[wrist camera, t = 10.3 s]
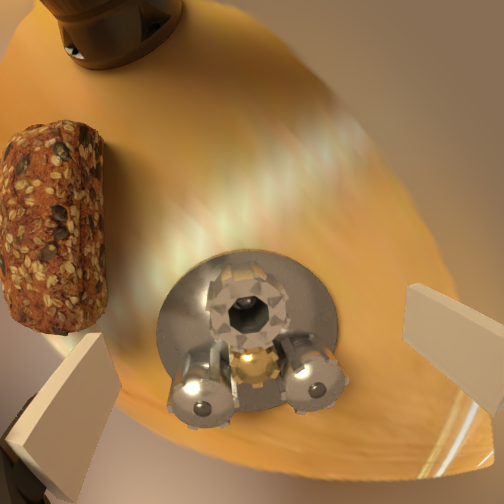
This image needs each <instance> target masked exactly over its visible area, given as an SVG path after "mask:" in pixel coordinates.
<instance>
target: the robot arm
mask: <svg viewBox="0 0 504 504" xmlns="http://www.w3.org/2000/svg"><path fill="white" fill-rule="evenodd" d="M40 1H41V2H42V3H43V5H44V6H45V7H46V8H47V9H48V10H49V11H50V12H51V13H52V14H53V15H54V16H55V18H56V19H57V20H58V25H59V29H60V34H61V38H62V42H63V46H64V49H65V51H66V52H67V54H68V55H69V56H70V57H71V58H72V59H73V60H74V61H75V62H76V63H77V64H79V65H80V66H82V67H85V68H88V69H95V70H102V69H110V68H115V67H119V66H122V65H125V64H128V63H130V62H132V61H135V60H137V59H139V58H141V57H143V56H144V55H146V54H148V53H149V52H151V51H152V50H154V49H155V48H156V47H158V46H159V45H160V44H161V43H163V42H164V41H165V40H166V39H167V38H168V37H169V36H170V34H171V33H172V32H173V31H174V29H175V28H176V26H177V25H178V23H179V21H180V18H181V14H182V3H181V0H40ZM402 340H403V341H405V342H406V343H407V344H408V345H409V346H411V347H412V348H413V349H414V350H415V351H417V352H418V353H419V354H420V355H421V356H423V357H424V358H425V359H426V360H427V361H429V362H430V363H431V364H432V365H433V366H434V367H436V368H437V369H438V370H439V371H440V372H442V373H443V374H444V375H445V376H446V377H447V378H449V379H450V380H451V381H452V382H453V383H454V384H456V385H457V386H458V387H459V388H460V389H461V390H462V391H464V392H465V393H466V394H467V395H468V396H469V397H471V398H472V399H473V400H474V401H475V402H476V403H477V404H478V405H480V406H481V407H482V408H483V409H484V410H485V411H486V412H487V413H489V414H490V415H491V416H492V417H493V416H495V415H496V414H497V413H498V412H499V411H501V410H502V409H503V408H504V325H502V324H500V323H498V322H497V321H495V320H493V319H491V318H489V317H487V316H485V315H483V314H481V313H479V312H477V311H476V310H473V309H472V308H470V307H468V306H466V305H464V304H462V303H460V302H458V301H456V300H454V299H452V298H450V297H448V296H446V295H444V294H442V293H440V292H438V291H435V290H433V289H431V288H429V287H427V286H425V285H423V284H421V283H416V284H412V285H408V286H407V292H406V306H405V317H404V326H403V335H402ZM121 387H122V385H121V382H120V380H119V378H118V375H117V373H116V370H115V367H114V365H113V362H112V360H111V357H110V354H109V351H108V349H107V346H106V343H105V340H104V337H103V334H102V333H87V334H86V335H85V336H84V337H83V339H82V340H81V341H80V342H79V343H78V344H77V346H76V347H75V348H74V349H73V350H72V351H71V353H70V354H69V355H68V356H67V357H66V359H65V360H64V361H63V362H62V363H61V365H60V366H59V367H58V369H57V370H56V371H55V372H54V373H53V375H52V376H51V377H50V378H49V380H48V381H47V382H46V384H45V385H44V386H43V387H42V389H41V390H40V391H39V392H38V393H37V394H35V395H34V396H33V397H31V398H30V399H29V400H28V401H27V403H26V404H25V405H24V406H23V408H22V409H23V410H20V412H19V413H18V414H17V417H15V419H14V420H13V421H12V423H11V424H10V426H9V427H8V428H7V430H6V431H5V433H4V434H3V436H2V437H1V438H0V504H51V503H50V501H49V499H48V498H47V496H46V495H45V494H44V493H45V490H46V488H47V489H48V490H49V491H50V492H51V493H52V494H53V495H54V496H55V497H56V498H58V499H61V500H64V501H67V502H71V503H74V504H76V502H77V499H78V496H79V493H80V490H81V488H82V485H83V482H84V479H85V476H86V473H87V471H88V468H89V465H90V462H91V459H92V457H93V455H94V452H95V449H96V447H97V444H98V442H99V439H100V437H101V434H102V431H103V429H104V427H105V424H106V422H107V419H108V417H109V415H110V412H111V410H112V408H113V405H114V403H115V401H116V398H117V396H118V394H119V392H120V389H121Z"/></svg>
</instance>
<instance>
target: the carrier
mask: <svg viewBox="0 0 504 504" xmlns="http://www.w3.org/2000/svg"><path fill="white" fill-rule="evenodd" d="M248 259H250V260H254V261H257V262H258V264H259V265H260V267H261V268H262V270H263V271H264V272H265V273H267V274H268V273H270V272H271V273H272V274H273V275H274V277H275V278H276V279H277V281H278V282H279V283H280V285H281V286H282V287H283V288H284V290H285V292H286V294H287V295H288V297H289V299H288V300H286V301H285V306H286V312H287V314H288V315H289V317H290V319H291V320H290V323H289V326H288V329H286V328H283V329H282V330H281V331H280V332H279V333H278V334H277V336H276V337H275V338H274V339H273V340H272V342H273V344H274V345H272V346H270V347H269V348H267V349H265V350H264V349H263V347H255V348H249V349H244V351H243V353H240V352H235V351H233V350H232V346H231V345H230V344H228V343H227V342H225V341H223V340H222V339H220V338H217V339H214V338H213V336H212V335H211V333H210V332H209V324H210V312H208V311H205V308H206V300H207V293H208V287H209V283H210V281H215V280H216V278H217V277H218V276H219V274H220V273H221V266H222V265H224V264H226V263H228V262H230V263H231V265H234V264H242V263H247V260H248ZM257 299H258V297H256V296H248V297H241V298H238V299H237V300H236V301H235V302H234V304H233V305H234V306H235V307H236V308H238V309H241V308H242V309H248V308H250V307H252V306H253V305H254V303H255V302H256V301H257ZM337 332H338V323H337V314H336V310H335V306H334V304H333V301H332V298H331V296H330V294H329V293H328V291H327V289H326V288H325V286H324V285H323V284H322V282H321V281H320V280H319V279H318V278H317V277H316V276H315V275H314V274H313V273H312V272H311V271H310V270H308V269H307V268H305V267H304V266H303V265H301V264H300V263H298V262H297V261H295V260H293V259H291V258H289V257H287V256H284V255H281V254H278V253H275V252H270V251H265V250H255V249H245V250H234V251H229V252H224V253H221V254H218V255H215V256H212V257H210V258H208V259H206V260H204V261H202V262H200V263H199V264H197V265H196V266H194V267H193V268H191V269H190V270H189V271H188V272H186V273H185V274H184V275H183V276H182V277H181V278H180V279H179V280H178V281H177V283H176V284H175V285H174V286H173V288H172V289H171V291H170V292H169V294H168V296H167V297H166V299H165V301H164V303H163V306H162V308H161V310H160V314H159V318H158V322H157V331H156V337H157V347H158V352H159V355H160V358H161V361H162V364H163V365H164V367H165V369H166V371H167V373H168V374H169V376H170V377H171V378H172V383H171V388H170V392H169V396H168V401H167V405H166V406H167V409H168V411H169V413H174V414H175V415H176V416H177V417H178V418H179V419H180V420H181V421H182V422H184V423H186V424H188V427H187V428H190V429H193V430H197V429H198V428H213V427H217V426H220V427H221V428H224V427H226V426H228V425H230V418H231V417H232V415H233V413H234V412H254V411H261V410H266V409H270V408H273V407H276V406H279V405H282V404H284V403H286V402H288V403H289V404H290V405H291V406H292V407H293V408H294V410H295V413H296V414H301V415H305V413H306V412H311V411H317V410H320V409H323V408H325V407H327V408H328V409H329V408H331V407H332V406H334V405H335V404H336V402H335V400H336V399H337V398H338V397H339V396H340V394H341V393H342V391H343V389H344V386H345V385H348V384H349V379H350V376H349V375H348V374H347V373H346V371H345V370H344V369H343V367H342V366H341V365H340V363H339V362H338V360H337V359H336V358H335V356H334V355H333V352H334V349H335V345H336V341H337Z"/></svg>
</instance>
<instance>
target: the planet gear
mask: <svg viewBox="0 0 504 504" xmlns="http://www.w3.org/2000/svg"><path fill="white" fill-rule="evenodd" d="M248 296H256V297H258V299H257V301H256V302H255V303H254V305H253V306H252V307H250V308H248V309H242V308H241V309H238V308H236V307H235V306H234V305H233V304H234V302H235V301H236V300H237V299H238V298H241V297H248ZM288 299H289V297H288V295H287V294H286V292H285V290H284V288H283V287H282V286H281V285H280V283H279V282H278V281H277V279H276V278H275V277H274V275H273V274H272V273H271V272H270V273H268V274H267V273H265V272H264V271H263V270H262V268H261V267H260V265H259V264H258V262H257V261H254V260H250V259H248V260H247V263H242V264H234V265H231V263H230V262H228V263H226V264H224V265H222V266H221V273H220V274H219V276H218V277H217V278H216V280H215V281H210V283H209V287H208V293H207V300H206V308H205V311H208V312H210V324H209V332H210V333H211V335H212V336H213V338H214V339H217V338H220V339H222V340H223V341H225V342H227V343H228V344H230V345H231V346H232V350H233V351H235V352H240V353H243V351H244V349H249V348H255V347H263V349H264V350H265V349H267V348H269V347H270V346H272V345H274V344H273V342H272V340H273V339H274V338H275V337H276V336H277V334H278V333H279V332H280V331H281V330H282V329H283V328H286V329H288V326H289V323H290V320H291V319H290V317H289V315H288V314H287V312H286V306H285V301H286V300H288Z"/></svg>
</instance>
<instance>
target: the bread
mask: <svg viewBox="0 0 504 504" xmlns="http://www.w3.org/2000/svg"><path fill="white" fill-rule="evenodd" d="M103 142H104V140H103V138H102V137H101V136H99V134H98V131H96V130H95V129H93V128H91V127H89V126H87V125H86V124H84V123H80V122H73V121H69V120H58V122H53V123H49V124H47V125H42V124H37V125H32V126H30V127H28V128H27V129H26V130H25V131H23V132H20V133H15V134H14V135H13V137H12V138H11V139H10V140H9V142H8V143H7V144H6V145H5V147H4V150H3V152H2V157H1V159H0V278H1V281H2V283H3V291H4V298H5V300H6V301H7V305H8V309H9V311H10V313H11V316H12V318H13V319H14V320H15V321H17V322H18V323H21V324H22V325H24V326H26V327H29V328H31V329H33V330H34V331H36V332H38V333H41V332H42V333H45V334H54V335H62V336H68V333H71V332H75V331H78V332H79V331H80V330H83V329H86V328H88V327H90V326H92V325H93V324H96V321H97V319H98V318H100V317H101V314H104V309H105V308H106V307H107V301H108V290H107V287H106V279H105V269H104V263H105V253H104V249H105V248H104V229H103V221H104V207H103V198H104V194H103V190H102V187H103V181H104V180H103V165H102V164H103V152H104V146H103Z"/></svg>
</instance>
